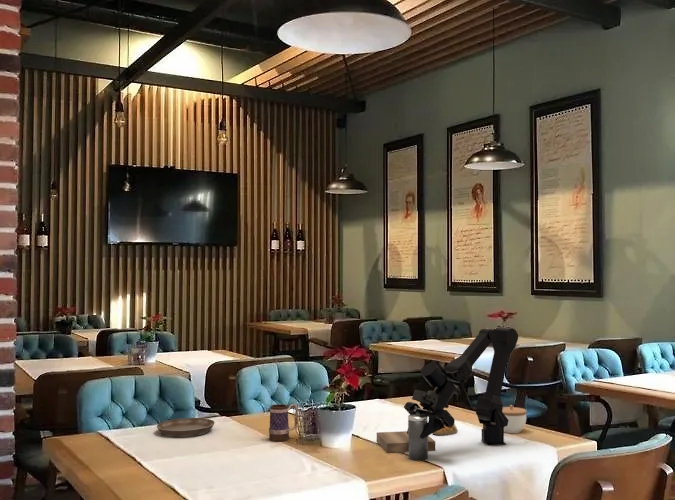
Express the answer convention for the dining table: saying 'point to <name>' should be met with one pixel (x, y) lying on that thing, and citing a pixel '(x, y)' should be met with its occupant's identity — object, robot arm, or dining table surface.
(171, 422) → the plant saucer
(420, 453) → the canister
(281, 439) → the mug
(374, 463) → the dining table surface
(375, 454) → the dining table surface
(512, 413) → the lidded jar
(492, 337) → the robot arm
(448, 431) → the pastry
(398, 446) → the block
